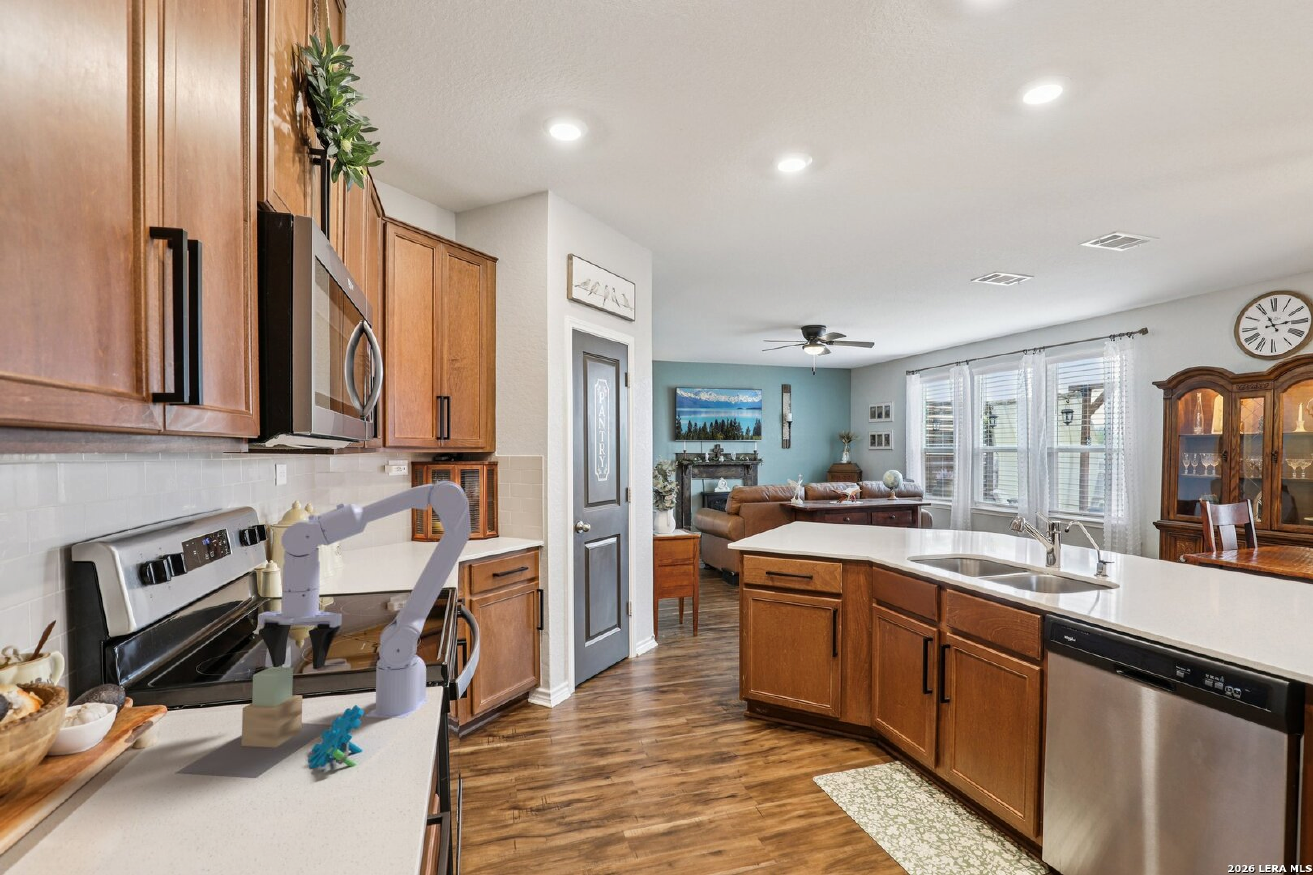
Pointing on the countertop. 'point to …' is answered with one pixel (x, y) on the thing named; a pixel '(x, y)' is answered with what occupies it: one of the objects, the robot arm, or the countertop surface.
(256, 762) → the mat
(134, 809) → the countertop surface
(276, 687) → the green block
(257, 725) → the top slab
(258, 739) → the base slab
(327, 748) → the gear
